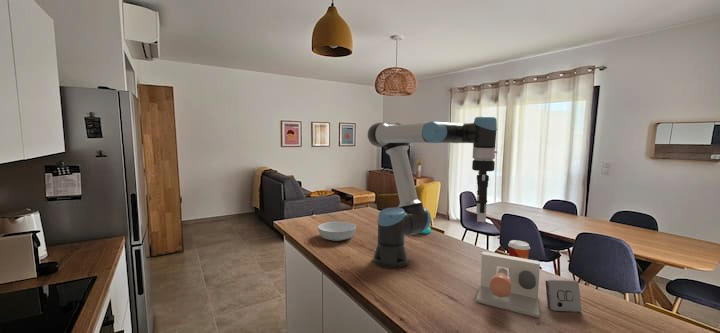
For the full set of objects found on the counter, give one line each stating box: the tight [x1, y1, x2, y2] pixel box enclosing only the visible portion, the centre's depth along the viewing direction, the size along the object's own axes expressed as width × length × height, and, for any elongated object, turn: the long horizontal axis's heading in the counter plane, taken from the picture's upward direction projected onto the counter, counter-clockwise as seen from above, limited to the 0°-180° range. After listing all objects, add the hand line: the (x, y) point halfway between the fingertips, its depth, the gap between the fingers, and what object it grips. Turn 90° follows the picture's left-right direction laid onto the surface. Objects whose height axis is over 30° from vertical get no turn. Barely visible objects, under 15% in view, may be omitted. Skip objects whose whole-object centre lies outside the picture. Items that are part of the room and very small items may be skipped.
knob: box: [490, 267, 511, 298], centre depth 100 cm, size 6×13×6 cm, turn 151°
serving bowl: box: [317, 221, 357, 242], centre depth 163 cm, size 21×21×7 cm
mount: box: [475, 251, 541, 319], centre depth 101 cm, size 18×14×13 cm
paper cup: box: [507, 239, 531, 277], centre depth 118 cm, size 8×8×14 cm
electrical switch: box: [545, 279, 582, 313], centre depth 97 cm, size 9×5×9 cm, turn 86°
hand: (480, 217), depth 110 cm, fingers open, 13 cm apart
